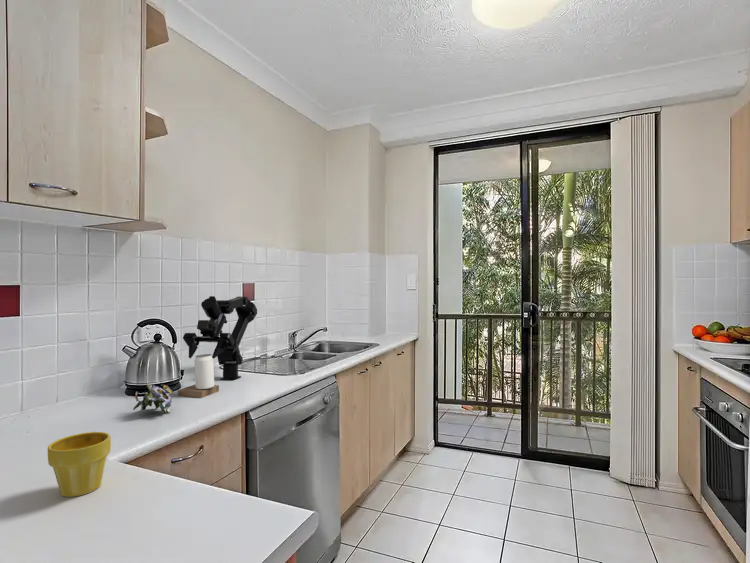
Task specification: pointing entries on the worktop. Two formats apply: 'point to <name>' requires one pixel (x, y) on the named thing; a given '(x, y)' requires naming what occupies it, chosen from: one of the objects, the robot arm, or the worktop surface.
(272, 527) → the worktop surface
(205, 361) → the can
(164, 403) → the passion flower
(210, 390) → the walnut block
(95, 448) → the plant pot
